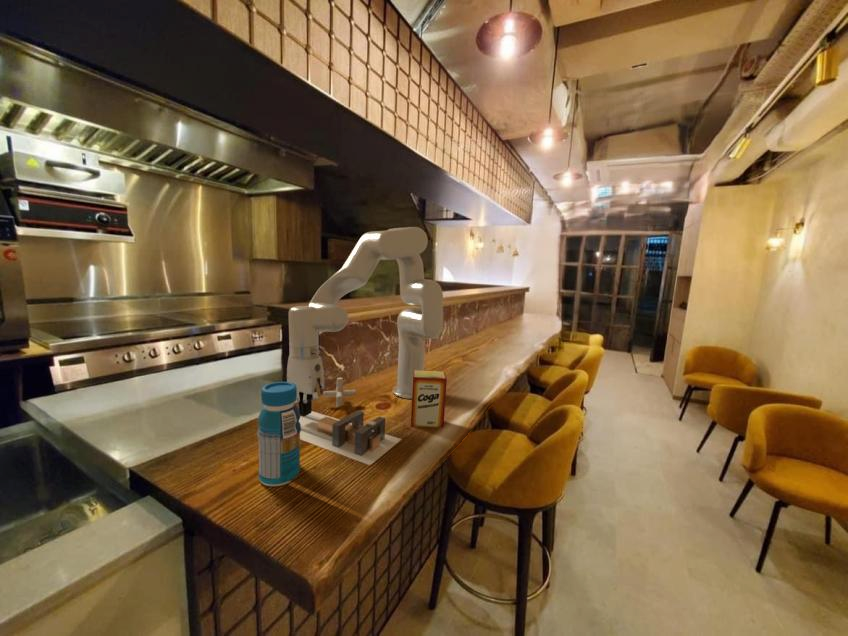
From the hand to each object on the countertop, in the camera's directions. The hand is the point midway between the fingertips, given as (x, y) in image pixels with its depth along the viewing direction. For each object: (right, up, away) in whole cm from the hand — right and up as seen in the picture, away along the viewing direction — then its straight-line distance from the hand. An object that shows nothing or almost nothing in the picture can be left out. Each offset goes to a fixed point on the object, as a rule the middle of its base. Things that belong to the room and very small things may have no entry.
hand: (305, 414), depth 95 cm
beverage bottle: (+3, -7, -23) cm, 24 cm away
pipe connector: (+6, -2, +13) cm, 15 cm away
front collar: (+20, -5, -10) cm, 23 cm away
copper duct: (+14, -4, -8) cm, 16 cm away
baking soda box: (+34, -5, +5) cm, 35 cm away
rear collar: (+14, -4, -7) cm, 16 cm away
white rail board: (+9, -5, -5) cm, 11 cm away
